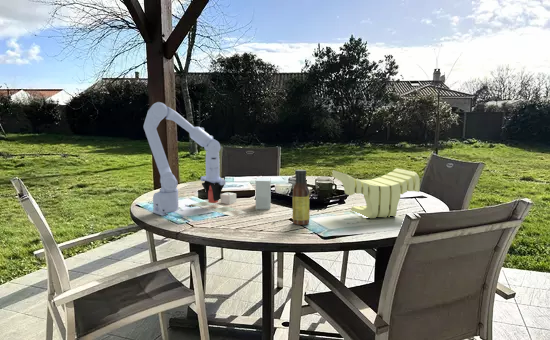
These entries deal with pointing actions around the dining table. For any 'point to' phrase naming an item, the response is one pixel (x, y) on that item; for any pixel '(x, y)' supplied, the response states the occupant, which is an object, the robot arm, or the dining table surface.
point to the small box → (263, 193)
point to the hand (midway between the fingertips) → (213, 199)
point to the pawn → (211, 196)
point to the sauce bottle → (301, 199)
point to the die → (228, 198)
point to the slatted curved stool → (380, 191)
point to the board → (219, 208)
